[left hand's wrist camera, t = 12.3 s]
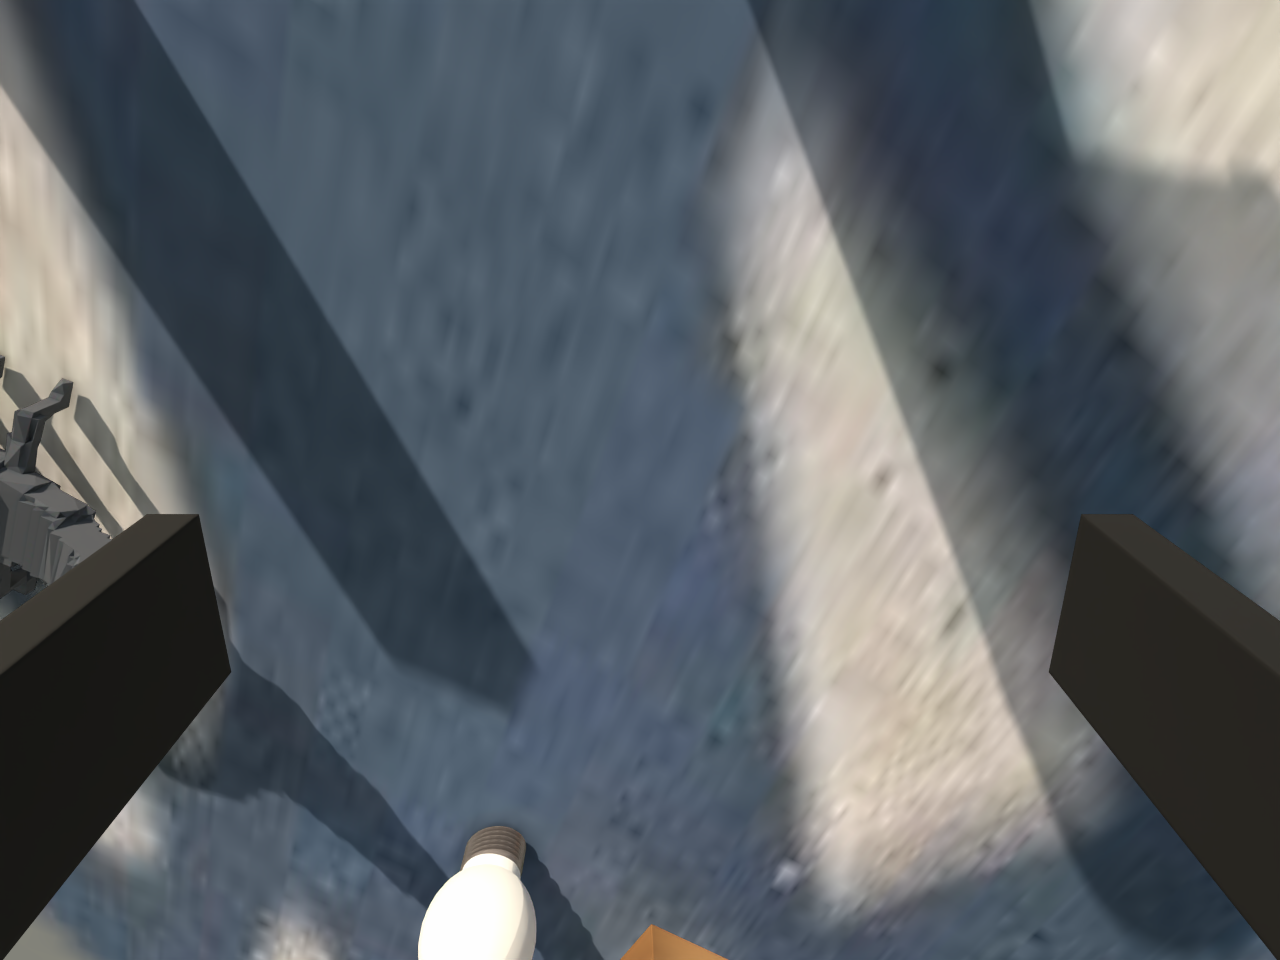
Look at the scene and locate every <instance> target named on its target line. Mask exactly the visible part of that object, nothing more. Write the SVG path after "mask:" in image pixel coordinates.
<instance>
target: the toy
mask: <svg viewBox="0 0 1280 960" xmlns="http://www.w3.org/2000/svg"><path fill="white" fill-rule="evenodd" d="M4 362H5V357H4V356H2V355H0V378H1V377H2V375H3V368H4ZM72 386H73V382H71V381H69V380H66V379H63V378H62V379H61V380H60V381H59V383H58V384H57V385H56V386H55V388H54V389H53V390H52V392H51V393H50V395H49V397H48V398H46V399H44V400H41V401H39V402H37V403H35V404H32V405H30V406H28V407H26V408H22V409H19V410H17V411H15V413H14V421H13V428H12V432H11V433H8V434H7V442H6V451H5V450H3V449H0V599H1V598H2V597H3V596H5V595H6V594H7V593H9V592H10V591H11V590H15V591H18V592H20V593H22V594H24V595H26V594H28V593H30V592H31V591H33V590H35V586H36V580H37V578H40V579H42V580H43V581H44V583H45V585H47V586H49V585H50V584H52V583H53V582H55V581H56V580H57V579H59V578H60V577H61V576H63V575H64V574H66V573H67V572H68V571H70V570H71V569H72V568H74V567H75V566H77V565H78V564H79V563H81V562H82V561H84V560H85V559H86V558H88V557H89V556H90V555H92V554H93V553H95V552H96V551H97V550H99V549H100V548H101V547H103V546H104V545H106V544H107V543H108V542H110V541H111V540H112V539H109V538H110V535H108V534H105V533H102V532H101V531H102V529H101V528H99V525H100V524H98V523H97V522H96V521H95V520H94V517H95V513H96V511H95V510H94V509H92V508H91V507H89V506H88V505H87V504H86V503H84V502H82V501H80V500H78V499H76V498H74V497H72V496H70V495H69V494H67V493H65V492H63V491H62V490H60V486H59V485H58V484H56V483H54V482H53V481H51V480H49V479H47V478H45V477H43V476H42V475H40V474H38V473H36V472H35V466H36V457H37V448H38V446H39V443H40V441H41V436H42V432H43V428H44V424H45V421H46V420H47V419H48V418H50V417H51V416H52V415H53V414H54V413H56V412H59V411H61V410H63V409H65V408H67V407H69V403H70V397H71V392H72ZM18 564H20V565H22V568H20V569H18V570H15V571H12V572H11V569H10V567H12V566H15V565H18Z"/></svg>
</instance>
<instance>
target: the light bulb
mask: <svg viewBox="0 0 1280 960" xmlns="http://www.w3.org/2000/svg"><path fill="white" fill-rule="evenodd" d="M525 851H526V843H525V840H524V838H523V837H522V835H521V834H520V833H518V832H517V831H516V830H514V829H511V828H508V827H504V826H493V827H488V828H485V829H482V830H480V831H478V832H477V833H476V834H474V835H473V836H472V837H471V838H470V840H469V841H468V843H467V846H466V850H465V853H464V857H463V861H462V865H461V869H460V872H459V873H457V874H456V875H454V876H453V877H452V878H450V879H449V880H448V881H447V882H446V883H445V884H444V885H443V887H442V888H441V889H440V890H439V891H438V893H437V894H436V895H435V897H434V899H433V900H432V902H431V904H430V906H429V908H428V910H427V912H426V915H425V918H424V920H423V923H422V928H421V933H420V939H419V946H418V958H419V960H532V957H533V952H534V948H535V943H536V917H535V910H534V906H533V903H532V900H531V897H530V895H529V893H528V891H527V889H526V887H525V886H524V885H523V883H522V882H521V880H520V879H521V875H522V869H523V864H524V856H525Z"/></svg>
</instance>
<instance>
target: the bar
mask: <svg viewBox="0 0 1280 960" xmlns="http://www.w3.org/2000/svg"><path fill="white" fill-rule="evenodd" d="M620 960H728V959H726V958H723V957H721V956H719V955H717V954H715V953H713V952H711V951H708V950H706V949H704V948H702V947H700V946H698V945H696V944H693V943H691V942H689V941H687V940H685V939H683V938H680V937H678V936H676V935H674V934H672V933H670V932H668V931H665V930H663V929H661V928H659V927H657V926H655V925H652V924H651V925H650V926H649V928H648V929H647V930H646V931H645V932H644V933H643V934H642V935H641V937H640V938H639V939H638V940H637V941H636V942H635V943H634V945H633V946H632V947H631V948H630V949H629V950H628V951H627V953H626V954H625V955H624V956H623V957H622V958H621V959H620Z"/></svg>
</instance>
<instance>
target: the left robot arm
mask: <svg viewBox="0 0 1280 960" xmlns="http://www.w3.org/2000/svg"><path fill="white" fill-rule="evenodd" d="M230 673H231V669H230V664H229V659H228V654H227V650H226V645H225V640H224V635H223V630H222V625H221V620H220V616H219V611H218V606H217V601H216V596H215V591H214V586H213V582H212V577H211V572H210V567H209V562H208V557H207V552H206V547H205V543H204V538H203V533H202V528H201V523H200V518H199V514H147V515H146V516H144V517H143V518H141V519H140V520H139V521H137V522H136V523H134V524H133V525H132V526H130V527H129V528H128V529H126V530H125V531H123V532H122V533H121V534H119V535H118V536H117V537H115V538H114V539H112V540H111V541H110V542H108V543H107V544H106V545H104V546H103V547H101V548H100V549H99V550H97V551H96V552H95V553H93V554H92V555H90V556H89V557H88V558H86V559H85V560H84V561H82V562H81V563H79V564H78V565H77V566H75V567H74V568H72V569H71V570H70V571H68V572H67V573H66V574H64V575H63V576H61V577H60V578H59V579H57V580H56V581H55V582H53V583H52V584H50V585H49V586H48V587H46V588H45V589H44V590H42V591H41V592H39V593H38V594H37V595H35V596H34V597H33V598H31V599H30V600H28V601H27V602H26V603H24V604H23V605H21V606H20V607H19V608H17V609H16V610H15V611H13V612H12V613H10V614H9V615H8V616H6V617H5V618H4V619H2V620H1V621H0V960H3V959H4V958H5V956H6V955H7V954H8V953H9V951H10V950H11V949H12V948H13V946H14V945H15V944H16V943H17V941H18V940H19V939H20V938H21V936H22V935H23V934H24V932H25V931H26V930H27V929H28V928H29V926H30V925H31V924H32V922H33V921H34V920H35V919H36V917H37V916H38V915H39V914H40V912H41V911H42V910H43V909H44V907H45V906H46V905H47V904H48V902H49V901H50V900H51V899H52V897H53V896H54V895H55V893H56V892H57V891H58V890H59V888H60V887H61V886H62V885H63V883H64V882H65V881H66V880H67V878H68V877H69V876H70V875H71V873H72V872H73V871H74V870H75V868H76V867H77V866H78V864H79V863H80V862H81V861H82V859H83V858H84V857H85V856H86V854H87V853H88V852H89V851H90V849H91V848H92V847H93V846H94V844H95V843H96V842H97V841H98V839H99V838H100V837H101V835H102V834H103V833H104V832H105V830H106V829H107V828H108V827H109V825H110V824H111V823H112V822H113V820H114V819H115V818H116V817H117V815H118V814H119V813H120V812H121V810H122V809H123V808H124V806H125V805H126V804H127V803H128V801H129V800H130V799H131V798H132V796H133V795H134V794H135V793H136V791H137V790H138V789H139V788H140V786H141V785H142V784H143V783H144V781H145V780H146V779H147V777H148V776H149V775H150V774H151V772H152V771H153V770H154V769H155V767H156V766H157V765H158V764H159V762H160V761H161V760H162V759H163V757H164V756H165V755H166V754H167V752H168V751H169V750H170V749H171V747H172V746H173V745H174V743H175V742H176V741H177V740H178V738H179V737H180V736H181V735H182V733H183V732H184V731H185V730H186V728H187V727H188V726H189V725H190V723H191V722H192V721H193V720H194V718H195V717H196V716H197V714H198V713H199V712H200V711H201V709H202V708H203V707H204V706H205V704H206V703H207V702H208V701H209V699H210V698H211V697H212V696H213V694H214V693H215V692H216V691H217V689H218V688H219V687H220V685H221V684H222V683H223V682H224V680H225V679H226V678H227V677H228V675H229V674H230ZM1049 673H1050V674H1051V675H1052V677H1053V678H1054V679H1055V680H1056V682H1057V683H1058V684H1059V685H1060V687H1061V688H1062V689H1063V691H1064V692H1065V693H1066V694H1067V696H1068V697H1069V698H1070V699H1071V701H1072V702H1073V703H1074V704H1075V706H1076V707H1077V708H1078V709H1079V711H1080V712H1081V713H1082V714H1083V716H1084V717H1085V718H1086V720H1087V721H1088V722H1089V723H1090V725H1091V726H1092V727H1093V728H1094V730H1095V731H1096V732H1097V733H1098V735H1099V736H1100V737H1101V738H1102V740H1103V741H1104V742H1105V743H1106V745H1107V746H1108V747H1109V749H1110V750H1111V751H1112V752H1113V754H1114V755H1115V756H1116V757H1117V759H1118V760H1119V761H1120V762H1121V764H1122V765H1123V766H1124V767H1125V769H1126V770H1127V771H1128V772H1129V774H1130V775H1131V776H1132V777H1133V779H1134V780H1135V781H1136V783H1137V784H1138V785H1139V786H1140V788H1141V789H1142V790H1143V791H1144V793H1145V794H1146V795H1147V796H1148V798H1149V799H1150V800H1151V801H1152V803H1153V804H1154V805H1155V806H1156V808H1157V809H1158V810H1159V812H1160V813H1161V814H1162V815H1163V817H1164V818H1165V819H1166V820H1167V822H1168V823H1169V824H1170V825H1171V827H1172V828H1173V829H1174V830H1175V832H1176V833H1177V834H1178V835H1179V837H1180V838H1181V839H1182V841H1183V842H1184V843H1185V844H1186V846H1187V847H1188V848H1189V849H1190V851H1191V852H1192V853H1193V854H1194V856H1195V857H1196V858H1197V859H1198V861H1199V862H1200V863H1201V864H1202V866H1203V867H1204V868H1205V870H1206V871H1207V872H1208V873H1209V875H1210V876H1211V877H1212V878H1213V880H1214V881H1215V882H1216V883H1217V885H1218V886H1219V887H1220V888H1221V890H1222V891H1223V892H1224V893H1225V895H1226V896H1227V897H1228V899H1229V900H1230V901H1231V902H1232V904H1233V905H1234V906H1235V907H1236V909H1237V910H1238V911H1239V912H1240V914H1241V915H1242V916H1243V917H1244V919H1245V920H1246V921H1247V922H1248V924H1249V925H1250V926H1251V928H1252V929H1253V930H1254V931H1255V933H1256V934H1257V935H1258V936H1259V938H1260V939H1261V940H1262V941H1263V943H1264V944H1265V945H1266V946H1267V948H1268V949H1269V950H1270V951H1271V953H1272V954H1273V955H1274V957H1275V958H1276V959H1277V960H1280V621H1279V620H1278V619H1276V618H1275V617H1274V616H1272V615H1271V614H1270V613H1268V612H1267V611H1265V610H1264V609H1263V608H1261V607H1260V606H1259V605H1257V604H1256V603H1254V602H1253V601H1252V600H1250V599H1249V598H1247V597H1246V596H1245V595H1243V594H1242V593H1241V592H1239V591H1238V590H1236V589H1235V588H1234V587H1232V586H1231V585H1230V584H1228V583H1227V582H1225V581H1224V580H1223V579H1221V578H1220V577H1219V576H1217V575H1216V574H1214V573H1213V572H1212V571H1210V570H1209V569H1208V568H1206V567H1205V566H1203V565H1202V564H1201V563H1199V562H1198V561H1196V560H1195V559H1194V558H1192V557H1191V556H1190V555H1188V554H1187V553H1185V552H1184V551H1183V550H1181V549H1180V548H1179V547H1177V546H1176V545H1174V544H1173V543H1172V542H1170V541H1169V540H1168V539H1166V538H1165V537H1163V536H1162V535H1161V534H1159V533H1158V532H1157V531H1155V530H1154V529H1152V528H1151V527H1150V526H1148V525H1147V524H1146V523H1144V522H1143V521H1141V520H1140V519H1139V518H1137V517H1136V516H1134V515H1133V514H1081V518H1080V523H1079V528H1078V533H1077V538H1076V543H1075V547H1074V552H1073V557H1072V562H1071V567H1070V572H1069V577H1068V581H1067V586H1066V591H1065V596H1064V601H1063V606H1062V611H1061V616H1060V620H1059V625H1058V630H1057V635H1056V640H1055V645H1054V650H1053V654H1052V659H1051V664H1050V669H1049Z"/></svg>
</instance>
